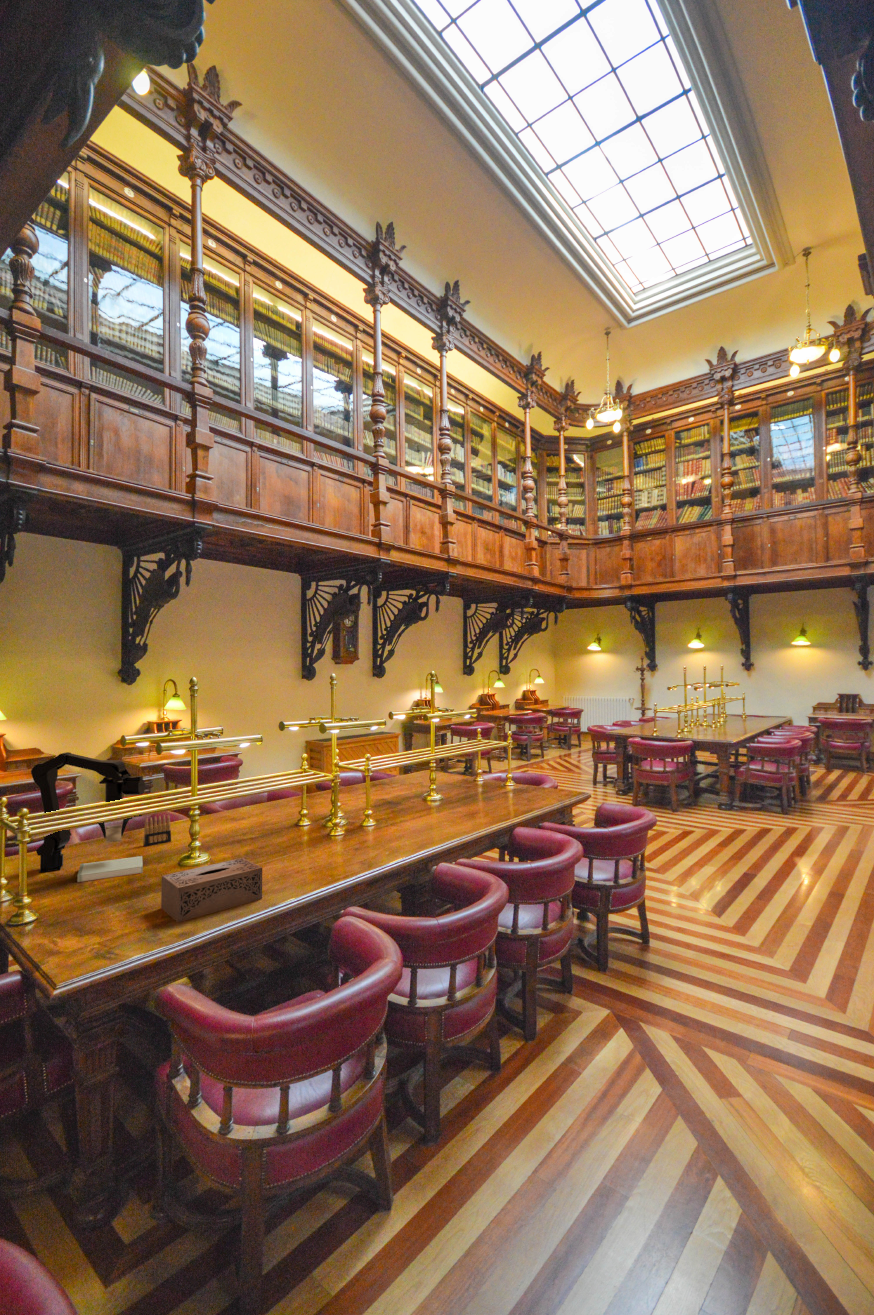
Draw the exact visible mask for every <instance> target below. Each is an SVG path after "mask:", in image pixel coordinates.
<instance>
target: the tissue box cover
mask: <svg viewBox="0 0 874 1315" xmlns="http://www.w3.org/2000/svg"><path fill="white" fill-rule="evenodd" d="M160 891H161V893H160V894H161V895H160V897H161V898H160V908H161V909H162V911H164V912H165V913H166V914H167V915H168V916H169V917H171V918H172V919H173V920H174V921H175V922H177V923H181V922H184V921H185V922H186V921H189V920H192V919H194V918H199V917H202V916H207V915H209V914H213V913H217V912H220V911H224V910H227V909H230V908H234V907H238V906H242V905H244V904H249V903H252V902H256V901H259V900H262V899H263V867H262V866H260V865H258V864H257V863H255V862H252V861H250V860H248V859H246V858H244V857H240V858H236V859H230V860H226V861H223V862H222V861H221V862H217V863H213V864H207V865H204V866H199V867H195V868H190V869H186V870H181V871H177V872H172V873H168V874H164V875H161V890H160Z"/></svg>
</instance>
